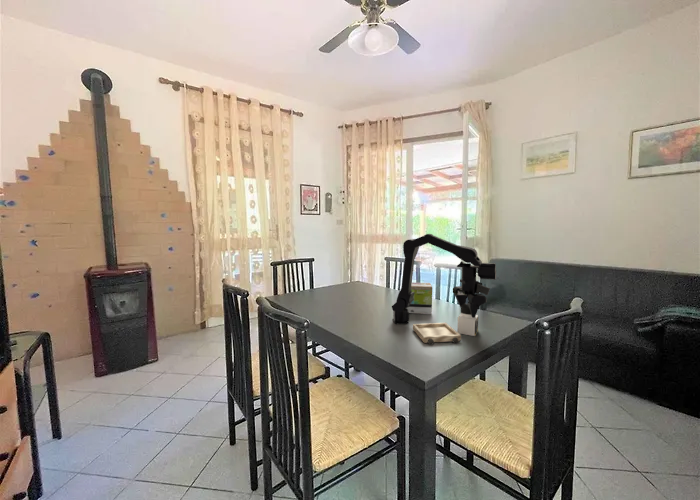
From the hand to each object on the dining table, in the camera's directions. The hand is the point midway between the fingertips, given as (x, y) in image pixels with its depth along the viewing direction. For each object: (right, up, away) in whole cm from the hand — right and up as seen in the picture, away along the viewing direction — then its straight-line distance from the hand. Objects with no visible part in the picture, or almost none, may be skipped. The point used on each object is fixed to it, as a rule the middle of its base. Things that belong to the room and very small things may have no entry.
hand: (468, 314), depth 129 cm
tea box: (-15, -5, +32) cm, 35 cm away
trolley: (-15, -9, -2) cm, 17 cm away
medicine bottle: (0, -8, +1) cm, 8 cm away
